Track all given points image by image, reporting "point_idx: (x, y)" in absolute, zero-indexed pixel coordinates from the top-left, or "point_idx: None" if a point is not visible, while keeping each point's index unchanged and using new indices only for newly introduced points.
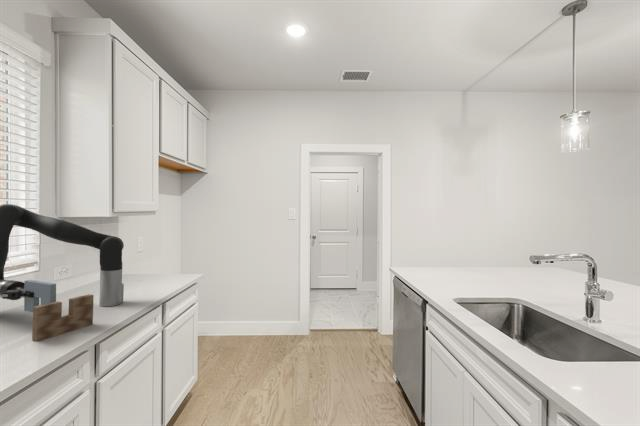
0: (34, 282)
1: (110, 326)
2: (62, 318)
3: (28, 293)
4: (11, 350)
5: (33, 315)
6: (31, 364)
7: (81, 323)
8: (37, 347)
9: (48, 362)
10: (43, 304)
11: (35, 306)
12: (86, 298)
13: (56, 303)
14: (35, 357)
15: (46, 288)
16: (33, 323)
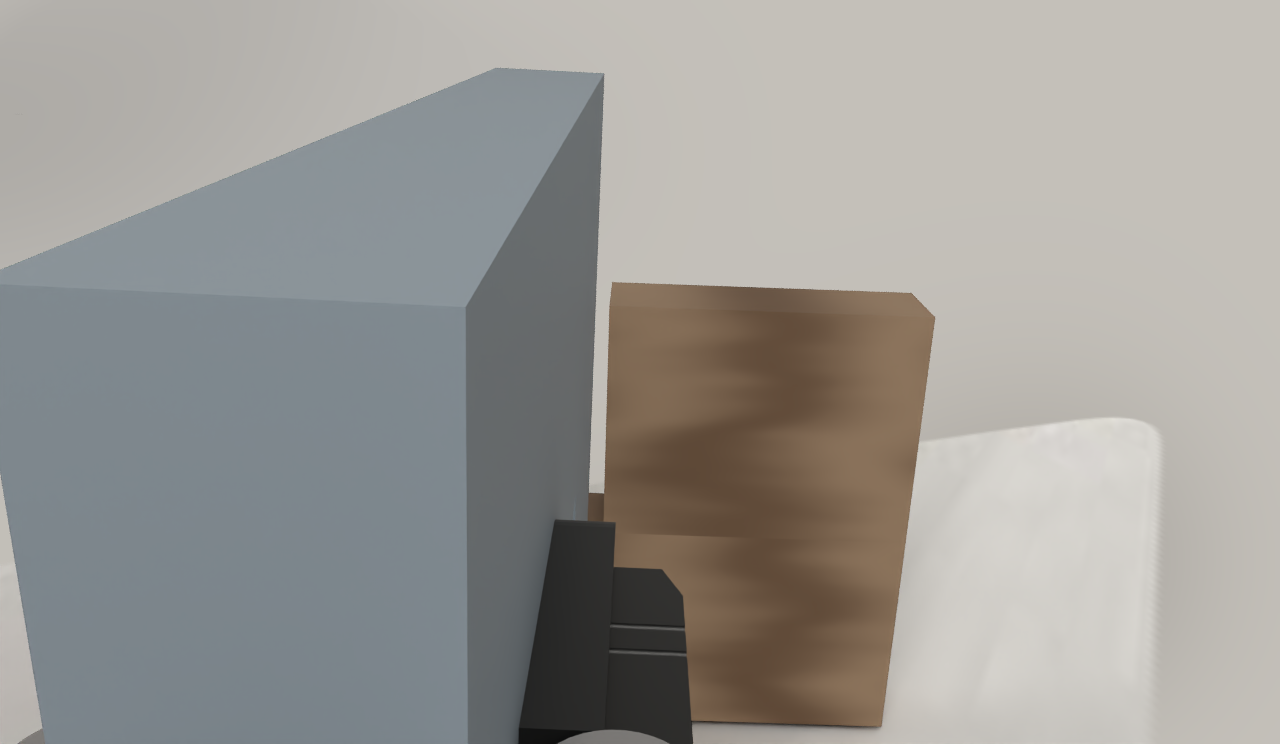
0: (571, 135)
1: None
2: (594, 493)
3: (669, 596)
4: (1100, 684)
5: (917, 426)
6: (1021, 467)
7: None
8: (905, 598)
9: (941, 439)
10: (802, 313)
11: (908, 314)
12: None
13: (682, 286)
14: (976, 505)
15: (594, 183)
16: (902, 523)
